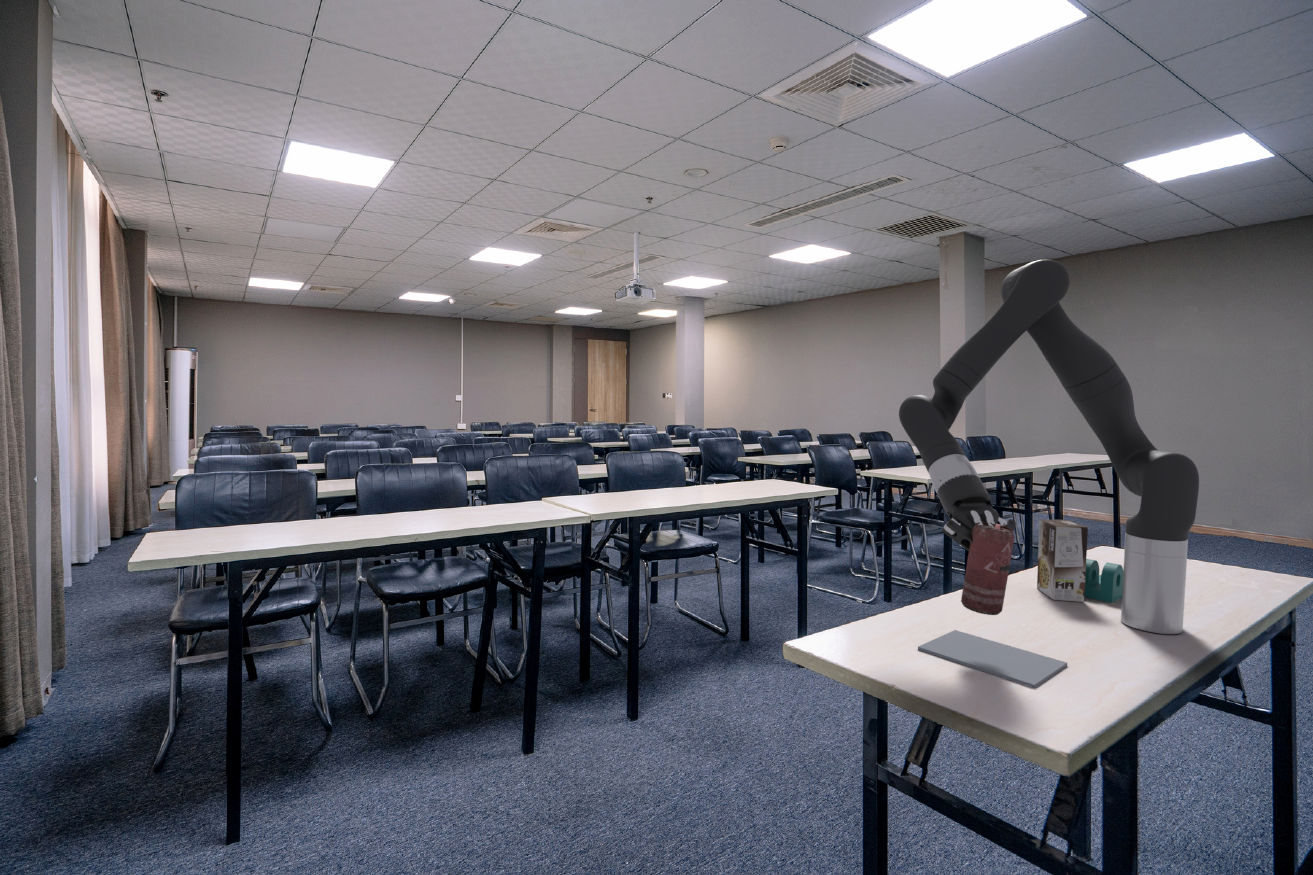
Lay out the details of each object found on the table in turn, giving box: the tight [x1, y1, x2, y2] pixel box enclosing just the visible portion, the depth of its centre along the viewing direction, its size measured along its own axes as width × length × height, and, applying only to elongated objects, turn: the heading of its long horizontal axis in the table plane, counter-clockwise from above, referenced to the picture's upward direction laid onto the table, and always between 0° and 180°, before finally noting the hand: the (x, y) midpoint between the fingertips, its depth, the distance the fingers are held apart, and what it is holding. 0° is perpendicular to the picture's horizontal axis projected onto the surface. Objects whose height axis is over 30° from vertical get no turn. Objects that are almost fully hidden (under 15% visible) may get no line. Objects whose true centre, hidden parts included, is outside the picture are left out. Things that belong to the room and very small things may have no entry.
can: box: [960, 523, 1015, 616], centre depth 102 cm, size 6×6×14 cm
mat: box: [917, 629, 1068, 689], centre depth 103 cm, size 13×18×1 cm
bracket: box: [1084, 558, 1124, 604], centre depth 140 cm, size 18×7×8 cm, turn 128°
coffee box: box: [1036, 519, 1089, 603], centre depth 137 cm, size 9×6×16 cm
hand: (1002, 572), depth 100 cm, fingers closed
